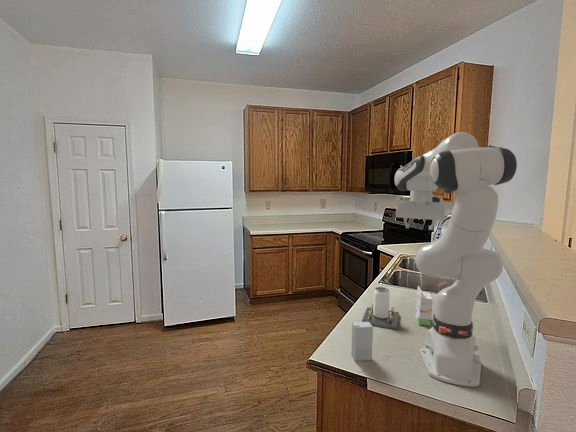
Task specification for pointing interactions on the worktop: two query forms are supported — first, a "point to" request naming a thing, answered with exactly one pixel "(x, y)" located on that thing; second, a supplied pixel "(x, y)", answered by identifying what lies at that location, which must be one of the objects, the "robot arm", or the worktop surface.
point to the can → (381, 302)
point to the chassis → (386, 323)
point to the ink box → (423, 308)
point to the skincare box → (362, 341)
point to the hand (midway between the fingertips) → (418, 228)
